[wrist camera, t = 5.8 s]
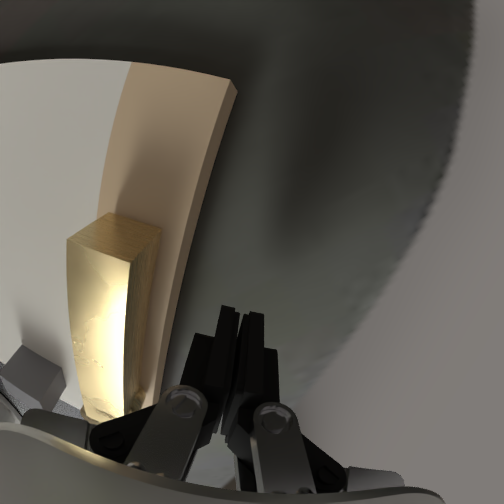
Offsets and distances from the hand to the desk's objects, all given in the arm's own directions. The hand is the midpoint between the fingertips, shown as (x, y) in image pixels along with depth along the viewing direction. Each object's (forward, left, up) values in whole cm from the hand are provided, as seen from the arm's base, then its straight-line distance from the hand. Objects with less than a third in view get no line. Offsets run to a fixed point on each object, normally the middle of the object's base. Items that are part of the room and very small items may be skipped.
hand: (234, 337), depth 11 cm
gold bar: (-3, +5, -1) cm, 6 cm away
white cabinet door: (-3, +12, -4) cm, 13 cm away
